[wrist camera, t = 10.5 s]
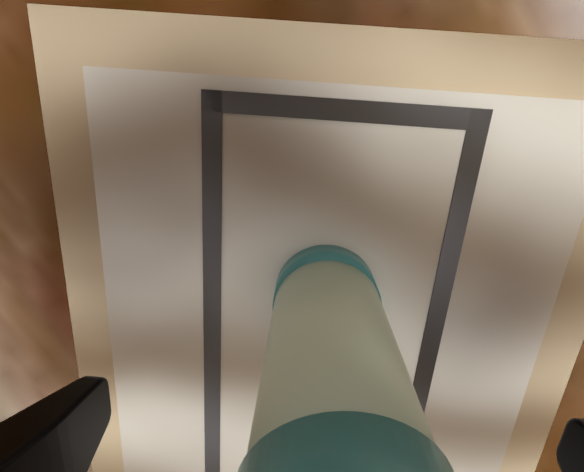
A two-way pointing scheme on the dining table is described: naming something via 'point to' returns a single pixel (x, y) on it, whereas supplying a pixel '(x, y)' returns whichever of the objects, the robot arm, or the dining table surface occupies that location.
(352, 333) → the teal-banded white cylinder
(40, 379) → the dining table surface
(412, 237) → the board
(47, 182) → the dining table surface
